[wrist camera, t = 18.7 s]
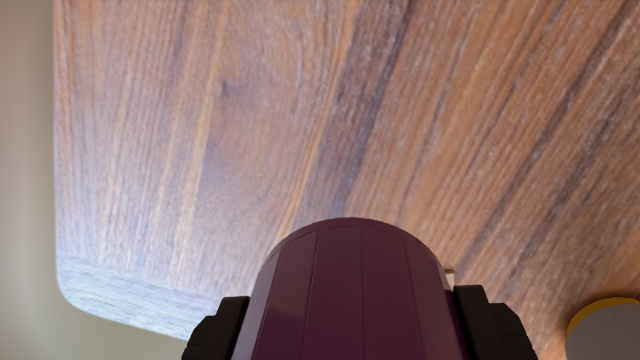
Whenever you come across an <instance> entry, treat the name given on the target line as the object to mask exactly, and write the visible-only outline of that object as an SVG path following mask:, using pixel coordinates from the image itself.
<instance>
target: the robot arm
mask: <svg viewBox="0 0 640 360" xmlns="http://www.w3.org/2000/svg"><path fill="white" fill-rule="evenodd" d="M453 295H454V298H455V302H456V305H457V309H458V312H459V315H460V319H461V322H462V326H463V329H464V332H465V336H466V339H467V342H468V346H469V349H470V353H471V356H472V359H473V360H538V357H537V355H536V353H535V351H534V350H533V348H532V344H531V342H530V340H529V338H528V336H527V335H526V331H525V329H524V327H523V325H522V323H521V321H520V318H519V316H518V315H516V314H515V313H514V312H513V311H512V310H511V309H510V308H509V307H508V306H507V305H506V304H505V303H489V302H488V299H487V297H486V294H485V291H484V289H483V287H482V285H462V286H454V287H453ZM249 301H250V297H249V296H237V297H224V298H223V299H222V301H221V303H220V305H219V308H218V310H217V313H216V315H214V316H206V317H205V318H204V319H203V320H202V321H201V322H200V323H199V324H198V325H197V326H196V328H195V329H194V330H193V332H192V334H191V337H190V339H189V341H188V343H187V348H185V350H184V352H183V355H182V357H181V358H182V359H181V360H231V357H232V354H233V351H234V348H235V345H236V342H237V339H238V336H239V332H240V329H241V326H242V323H243V320H244V317H245V314H246V311H247V308H248V305H249Z"/></svg>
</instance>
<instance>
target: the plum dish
mask: <svg viewBox="0 0 640 360" xmlns="http://www.w3.org/2000/svg"><path fill="white" fill-rule="evenodd" d="M231 360H473V359H472V356H471V353H470V349H469V346H468V342H467V339H466V336H465V332H464V329H463V326H462V322H461V319H460V315H459V312H458V309H457V305H456V302H455V298H454V295H453V292H452V289H451V287H450V285H449V283H448V281H447V277H446V274H445V272H444V270H443V268H442V265H441V264H440V262H439V261H438V259H437V258H436V256H435V255H434V254H433V253H432V251H431V250H430V249H429V248H428V247H427V246H426V245H425V244H423V243H422V242H421V241H420V240H419V239H417V238H416V237H414V236H413V235H411V234H410V233H408V232H407V231H404V230H402V229H400V228H398V227H396V226H394V225H391V224H388V223H385V222H382V221H377V220H372V219H366V218H356V217H349V218H334V219H327V220H323V221H319V222H315V223H312V224H310V225H307V226H305V227H302V228H300V229H298V230H297V231H295V232H293V233H291V234H290V235H288V236H287V237H286V238H284V239H283V240H282V241H281V242H279V243H278V244H277V245H276V246H275V247H274V248H273V250H272V251H271V252H270V254H269V255H268V256H267V258H266V260H265V261H264V263H263V265H262V268H261V270H260V272H259V274H258V277H257V280H256V283H255V286H254V289H253V292H252V295H251V298H250V301H249V305H248V308H247V311H246V314H245V317H244V320H243V323H242V326H241V329H240V332H239V336H238V339H237V342H236V345H235V348H234V351H233V354H232V357H231Z"/></svg>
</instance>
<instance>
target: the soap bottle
mask: <svg viewBox="0 0 640 360" xmlns="http://www.w3.org/2000/svg"><path fill="white" fill-rule="evenodd" d="M565 350H566V358H567V360H640V301H638V300H636V299H633V298H623V297H613V298H607V299H602V300H598V301H596V302H594V303H592V304H590V305H587V306H585V307H583V308H582V309H581V310H580V311H579V312H578V313H577V314H576V315H575V316H573V317H572V319H571V321H570V323H569V325H568V328H567V341H566V343H565Z"/></svg>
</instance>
